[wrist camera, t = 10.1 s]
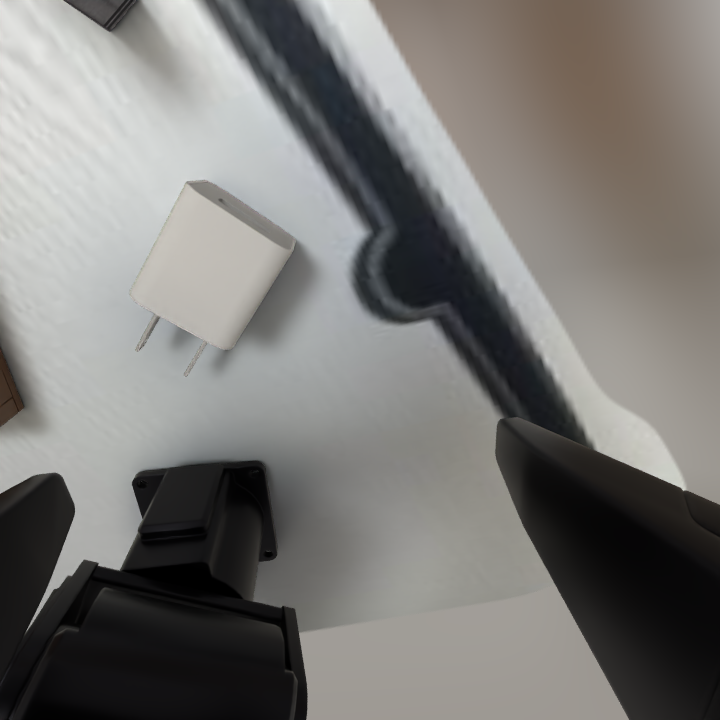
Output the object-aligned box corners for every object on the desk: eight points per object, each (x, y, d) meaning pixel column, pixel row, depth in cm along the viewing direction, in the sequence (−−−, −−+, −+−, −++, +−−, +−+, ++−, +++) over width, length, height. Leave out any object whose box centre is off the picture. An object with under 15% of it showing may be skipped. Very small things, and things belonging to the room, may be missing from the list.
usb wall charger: (296, 238, 18) (292, 254, 15) (217, 365, 20) (196, 407, 17) (208, 179, 17) (180, 182, 14) (134, 320, 19) (91, 356, 15)
